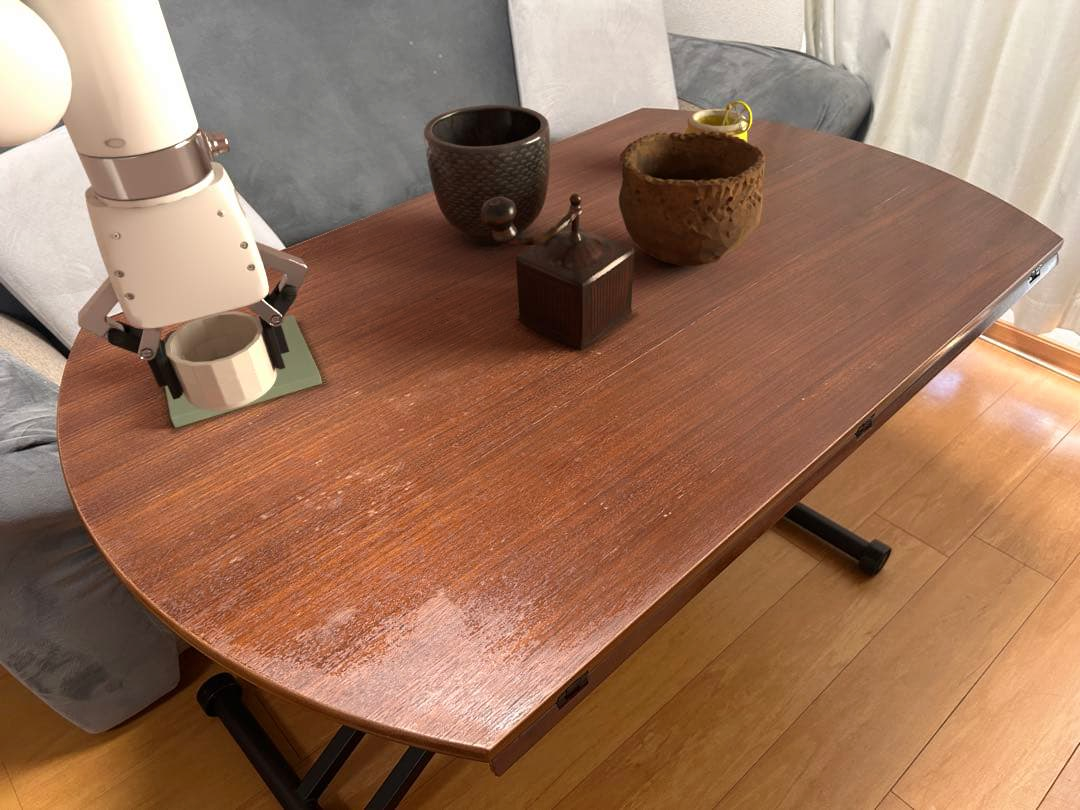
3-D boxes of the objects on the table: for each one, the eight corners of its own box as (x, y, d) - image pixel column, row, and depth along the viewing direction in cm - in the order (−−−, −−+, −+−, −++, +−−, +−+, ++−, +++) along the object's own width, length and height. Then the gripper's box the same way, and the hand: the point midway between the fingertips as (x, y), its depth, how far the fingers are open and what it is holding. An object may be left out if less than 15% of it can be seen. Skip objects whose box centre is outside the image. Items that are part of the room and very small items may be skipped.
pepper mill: (565, 286, 101) (563, 153, 89) (633, 314, 95) (641, 176, 83) (484, 339, 92) (470, 200, 80) (554, 373, 86) (550, 229, 74)
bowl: (588, 254, 107) (589, 150, 97) (680, 214, 116) (689, 115, 106) (686, 308, 95) (698, 196, 86) (780, 259, 104) (801, 153, 95)
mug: (673, 154, 133) (679, 84, 126) (735, 151, 134) (744, 80, 126) (689, 184, 124) (696, 110, 116) (755, 180, 124) (767, 106, 116)
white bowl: (189, 421, 58) (169, 375, 55) (180, 370, 63) (161, 326, 61) (284, 393, 61) (269, 348, 58) (268, 347, 66) (254, 302, 63)
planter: (531, 267, 105) (526, 154, 94) (418, 252, 109) (401, 143, 99) (565, 213, 117) (564, 108, 107) (463, 202, 122) (452, 100, 111)
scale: (174, 428, 81) (164, 407, 79) (161, 360, 91) (152, 339, 89) (322, 383, 86) (316, 362, 84) (295, 323, 96) (289, 303, 94)
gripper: (271, 122, 55) (324, 323, 67) (5, 170, 50) (112, 380, 62) (291, 157, 50) (345, 368, 62) (-3, 215, 45) (115, 435, 56)
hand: (228, 373), depth 61 cm, fingers closed on white bowl, 7 cm apart
